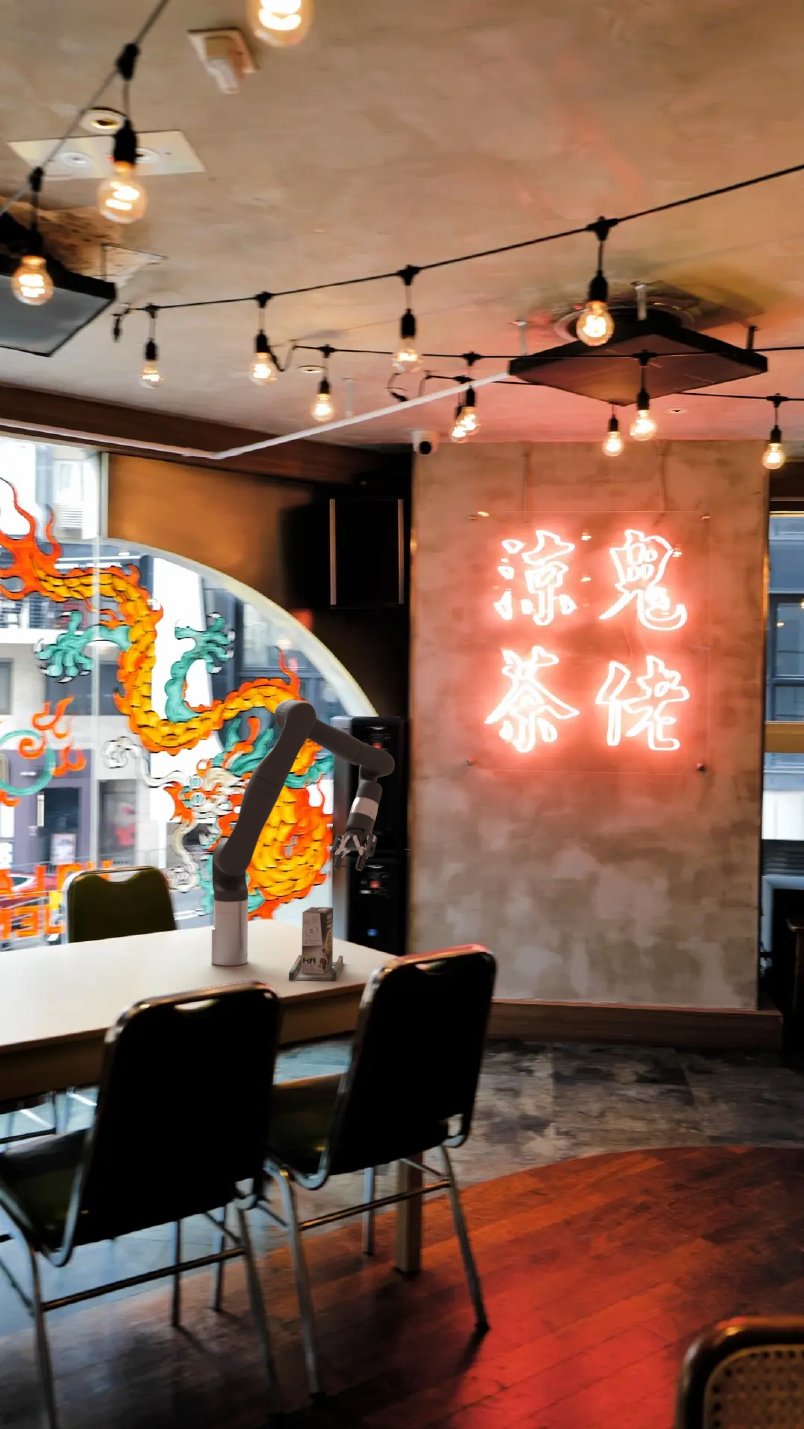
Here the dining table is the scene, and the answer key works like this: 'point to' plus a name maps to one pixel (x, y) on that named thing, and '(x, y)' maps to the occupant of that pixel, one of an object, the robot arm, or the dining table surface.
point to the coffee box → (317, 940)
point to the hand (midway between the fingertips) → (347, 869)
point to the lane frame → (334, 977)
